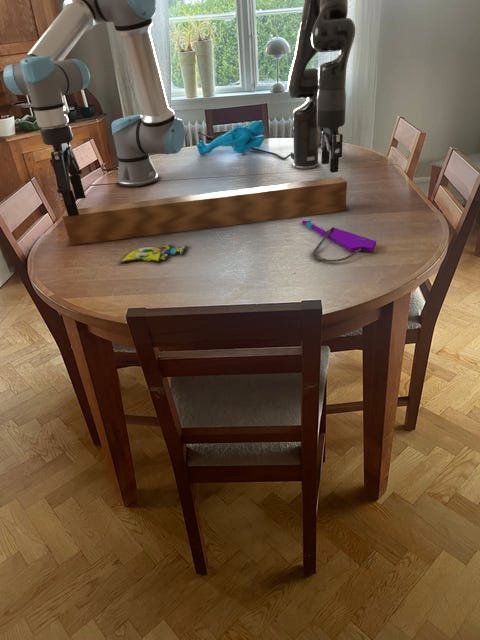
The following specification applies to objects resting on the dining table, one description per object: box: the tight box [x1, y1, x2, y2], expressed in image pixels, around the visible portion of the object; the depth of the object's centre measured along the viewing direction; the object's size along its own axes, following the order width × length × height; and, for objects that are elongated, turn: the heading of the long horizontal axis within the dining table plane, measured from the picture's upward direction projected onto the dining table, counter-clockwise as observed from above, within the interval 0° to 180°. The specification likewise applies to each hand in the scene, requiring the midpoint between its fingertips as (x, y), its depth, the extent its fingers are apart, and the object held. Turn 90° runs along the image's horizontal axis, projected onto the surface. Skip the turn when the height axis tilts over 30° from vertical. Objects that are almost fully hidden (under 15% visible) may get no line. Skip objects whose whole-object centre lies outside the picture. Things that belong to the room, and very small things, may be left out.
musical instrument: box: [301, 219, 377, 263], centre depth 123 cm, size 24×2×20 cm
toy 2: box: [196, 120, 266, 156], centre depth 207 cm, size 17×11×30 cm
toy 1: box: [120, 244, 187, 264], centre depth 126 cm, size 10×1×15 cm
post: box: [62, 176, 348, 246], centre depth 139 cm, size 80×5×9 cm, turn 98°
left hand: (77, 206), depth 133 cm, fingers open, 13 cm apart
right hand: (329, 167), depth 137 cm, fingers open, 8 cm apart
